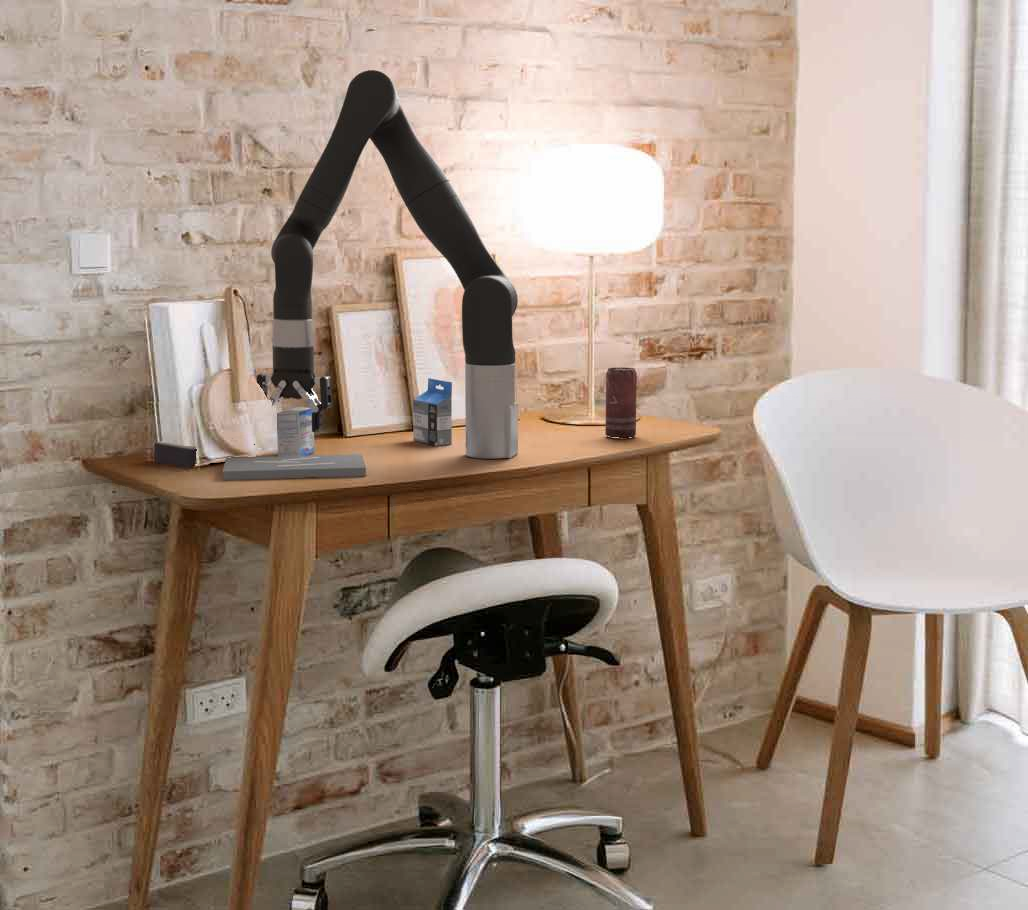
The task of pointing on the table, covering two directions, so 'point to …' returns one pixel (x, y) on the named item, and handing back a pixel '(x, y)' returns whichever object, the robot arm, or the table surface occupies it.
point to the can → (621, 402)
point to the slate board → (293, 467)
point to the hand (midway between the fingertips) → (294, 430)
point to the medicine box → (295, 432)
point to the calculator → (175, 454)
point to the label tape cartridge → (433, 414)
